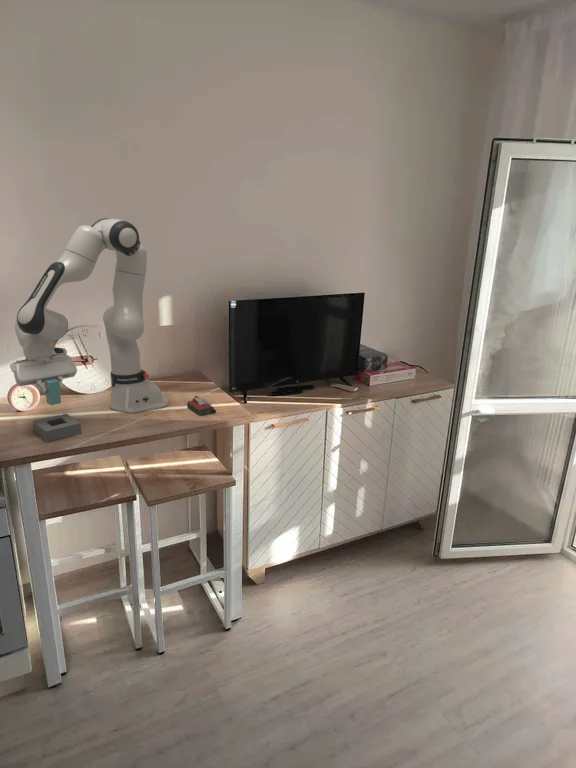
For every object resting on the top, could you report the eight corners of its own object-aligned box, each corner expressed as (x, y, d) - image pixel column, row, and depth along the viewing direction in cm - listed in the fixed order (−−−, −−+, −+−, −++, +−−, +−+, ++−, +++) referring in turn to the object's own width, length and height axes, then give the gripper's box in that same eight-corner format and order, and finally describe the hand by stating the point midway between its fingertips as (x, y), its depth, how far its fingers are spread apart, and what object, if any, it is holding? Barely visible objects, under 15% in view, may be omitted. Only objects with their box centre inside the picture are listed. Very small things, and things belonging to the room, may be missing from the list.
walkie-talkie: (221, 414, 225) (197, 399, 241) (220, 403, 224) (197, 389, 240) (200, 418, 221) (178, 402, 236) (200, 407, 219) (178, 392, 235)
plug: (57, 400, 202) (54, 378, 200) (61, 403, 200) (59, 381, 197) (46, 402, 200) (44, 380, 197) (50, 405, 197) (48, 383, 195)
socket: (67, 423, 211) (66, 413, 210) (81, 433, 203) (80, 423, 202) (33, 431, 204) (32, 421, 202) (47, 442, 195) (45, 431, 194)
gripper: (9, 357, 193) (23, 392, 189) (70, 348, 206) (84, 380, 202) (7, 366, 197) (20, 401, 193) (66, 357, 210) (79, 389, 207)
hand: (53, 390), depth 198 cm, fingers closed on plug, 4 cm apart
